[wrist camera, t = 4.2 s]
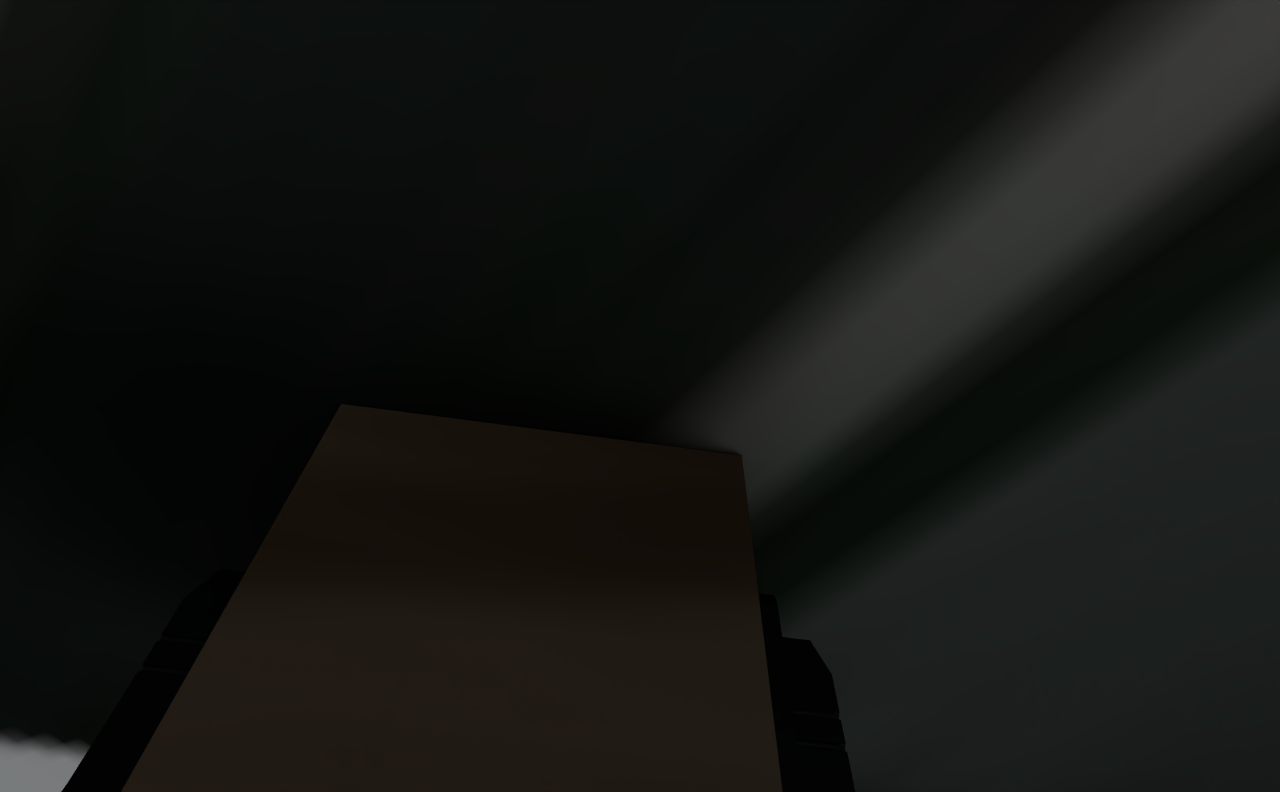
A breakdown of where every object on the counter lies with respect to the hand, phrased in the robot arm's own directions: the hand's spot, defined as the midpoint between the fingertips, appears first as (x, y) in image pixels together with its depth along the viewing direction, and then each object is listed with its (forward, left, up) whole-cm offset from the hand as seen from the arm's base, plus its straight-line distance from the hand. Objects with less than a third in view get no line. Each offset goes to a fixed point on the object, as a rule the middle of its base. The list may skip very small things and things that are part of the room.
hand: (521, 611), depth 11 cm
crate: (0, 0, -1) cm, 1 cm away
